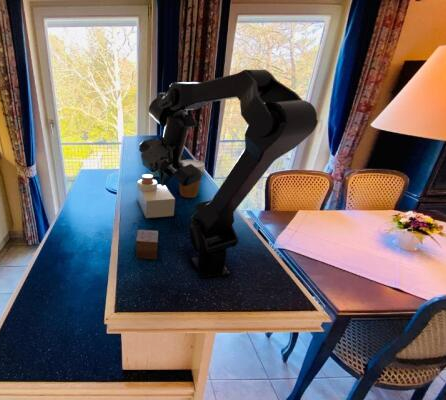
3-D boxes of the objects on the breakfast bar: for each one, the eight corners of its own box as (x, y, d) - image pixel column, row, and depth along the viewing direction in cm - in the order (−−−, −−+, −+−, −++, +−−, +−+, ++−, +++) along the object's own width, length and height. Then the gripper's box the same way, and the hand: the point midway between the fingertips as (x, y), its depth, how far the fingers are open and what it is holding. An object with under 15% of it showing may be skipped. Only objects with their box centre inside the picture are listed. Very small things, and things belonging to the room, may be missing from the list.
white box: (173, 215, 83) (175, 192, 80) (143, 218, 82) (144, 195, 78) (162, 198, 95) (163, 177, 92) (135, 200, 94) (135, 179, 90)
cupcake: (142, 173, 119) (142, 147, 113) (158, 170, 122) (159, 145, 117) (151, 179, 112) (152, 152, 106) (168, 176, 115) (170, 149, 110)
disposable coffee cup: (202, 200, 93) (206, 168, 88) (174, 198, 95) (177, 166, 90) (201, 190, 101) (204, 160, 96) (175, 188, 103) (178, 158, 98)
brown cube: (156, 259, 64) (157, 242, 62) (136, 257, 64) (136, 240, 62) (157, 247, 68) (158, 230, 66) (137, 245, 69) (138, 229, 67)
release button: (153, 184, 87) (154, 177, 86) (143, 185, 86) (143, 178, 85) (151, 180, 90) (151, 173, 89) (140, 181, 89) (141, 174, 88)
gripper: (126, 125, 66) (120, 175, 76) (177, 163, 56) (162, 215, 66) (159, 117, 72) (150, 165, 82) (211, 151, 61) (193, 201, 71)
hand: (162, 185), depth 75 cm, fingers closed
